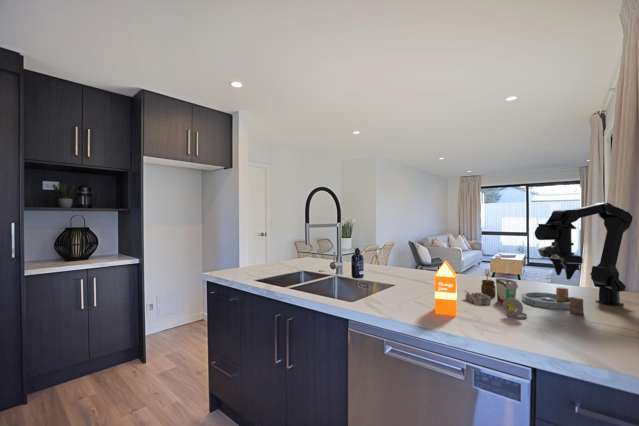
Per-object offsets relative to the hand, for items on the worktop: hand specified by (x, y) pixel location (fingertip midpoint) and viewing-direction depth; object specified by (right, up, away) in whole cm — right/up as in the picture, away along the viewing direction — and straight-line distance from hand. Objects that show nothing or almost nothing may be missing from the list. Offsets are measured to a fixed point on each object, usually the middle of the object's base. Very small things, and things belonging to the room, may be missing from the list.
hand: (563, 277), depth 130 cm
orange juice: (-52, -12, -7) cm, 54 cm away
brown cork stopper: (+1, -11, +1) cm, 11 cm away
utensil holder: (-23, -12, +16) cm, 30 cm away
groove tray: (-4, -12, +3) cm, 13 cm away
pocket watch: (-29, -12, -14) cm, 35 cm away
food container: (-22, -12, +1) cm, 25 cm away
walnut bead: (-4, -12, -12) cm, 17 cm away
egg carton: (-32, -13, +7) cm, 35 cm away
